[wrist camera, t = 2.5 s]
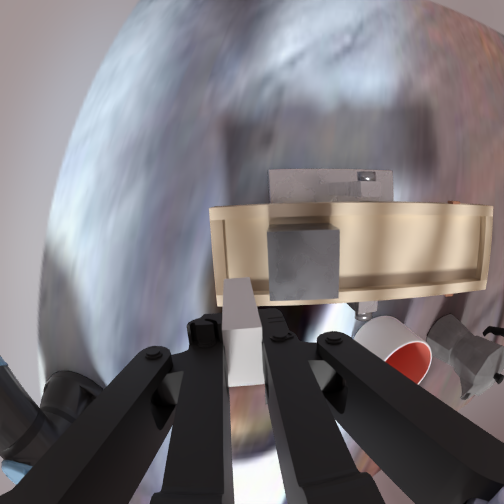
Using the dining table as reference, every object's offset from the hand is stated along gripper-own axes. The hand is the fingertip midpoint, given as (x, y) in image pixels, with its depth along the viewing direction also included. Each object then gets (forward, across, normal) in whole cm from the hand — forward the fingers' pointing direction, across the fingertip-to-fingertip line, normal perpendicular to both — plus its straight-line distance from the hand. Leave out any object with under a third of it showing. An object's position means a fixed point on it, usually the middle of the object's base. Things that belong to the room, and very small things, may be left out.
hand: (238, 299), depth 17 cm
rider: (+12, +7, 0) cm, 13 cm away
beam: (+12, +14, 0) cm, 18 cm away
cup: (+22, +22, -18) cm, 36 cm away
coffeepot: (+22, +39, -20) cm, 49 cm away
